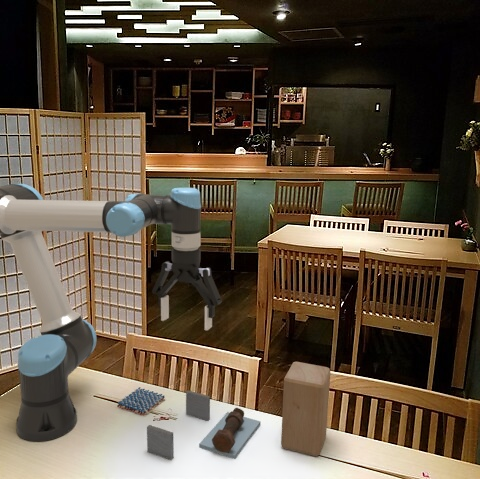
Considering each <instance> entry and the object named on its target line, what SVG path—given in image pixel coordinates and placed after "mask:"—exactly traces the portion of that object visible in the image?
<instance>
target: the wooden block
mask: <svg viewBox="0 0 480 479" xmlns="http://www.w3.org/2000/svg"><path fill="white" fill-rule="evenodd" d="M289 367H290V368H289V370H288V371H287V373H286V375H285V377H284V378H283V396H282V415H281V416H282V419H281V433H280V435H281V437H280V438H281V440H280V445H281V448H283V449H286V450H289V451H293V452H298V453H301V454H305V455H308V456H309V455H310V456H314V457H318V456H320V454H321V451H322V448H323V445H324V442H325V439H326V437H327V428H328V427H327V426H328V413H329V398H330V397H329V396H330V384H331V369H330V368H329V367H327V366H323V365H318V364H317V365H316V364H311V363H307V362H300V361H294V362H292V364H291V366H289Z"/></svg>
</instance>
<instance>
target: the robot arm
mask: <svg viewBox="0 0 480 479" xmlns="http://www.w3.org/2000/svg"><path fill="white" fill-rule="evenodd" d="M201 208H202V204H201V192H200V190H198V188H194V187H175V188H172V189H171V192H170V194H168V195H167V194H166V195H162V194H161V195H160V194H159V195H158V194H147V193H146V194H144V193H141V192H140V193H131V194H129V195H127V197H126V198H125V200H124V201H123V200H121V201H119V200H117V201H116V200H113V201H111V200H106V201H105V200H70V199H69V200H65V199H64V200H63V199H56V200H55V199H44V198H43V197H42V195H41V193H40V192H39V191H38V190H36V188H35V187H33V186H30V185H28V184H26V183H10V184H6V185H0V238H1V240H2V241H4V242H7V243H8V244H10V246H11V249H12V252H13V254H14V256H15V259H16V262H17V263H18V264H17V265H18V266H19V268H20V271H21V273H22V276H23V277H24V278H23V279H24V280H25V282H26V285H27V288H28V290H29V292H30V295H31V298H32V300H33V303H34V305H35V307H36V310H37V312H38V314H39V317H40V320H41V322H42V324H41V327H40V328H39V332H40V335H38V337H33V338H30V339H28V340H27V341H25V342H24V343H23V344H22V345H21V347H20V348H19V350H18V354H17V355H18V356H17V367H18V368H17V369H18V374H19V375H18V376H19V386H20V387H19V388H20V396H21V397H20V398H21V403H20V408H19V412H18V416H17V418H16V422H15V426H16V427H15V428H16V434H17V435H18V436H19V438H21V439H23V440H25V441H29V442H46V441H51V440H54V439H55V440H56V439H57V438H60V437H62V436H64V435H66V434H68V433H69V432H71V431H72V430H73V429H74V428H75V426H76V425H77V422H78V417H77V416H78V412H77V409H76V407H75V406H74V402H73V400H72V398H71V396H70V392H69V379H68V378H69V375H71V373H73V372H74V371H75V370H76V369H77V368H78V367H80V365H81V364H82V363H83V362H85V361H86V360H87V359H88V358H89V357H90V355H91V354H92V353H93V351H94V350H95V348H96V346H97V340H98V339H97V332H96V330H95V328H94V326H93V325H92V324H91V323H90V322H87V320H86V319H83V318H82V315H81V313H80V312H76V311H75V310H73V308H72V306H71V303H70V301H69V297H68V295H67V293H66V291H65V288H64V286H63V283H62V280H61V278H60V275H59V273H58V269H57V267H56V266H55V263H54V260H53V258H52V255H51V253H50V251H49V248H48V245H47V242H46V240H45V238H44V235H43V233H42V232H68V233H69V232H71V233H72V232H73V233H74V232H77V233H108V234H110V233H112V234H114V235H115V236H117V237H120V238H121V237H122V238H124V237H129V236H133V235H136V234H137V233H138V232H140V231H141V230H143V229H145V228H147V227H149V226H150V225H154V224H155V225H170V227H171V246H172V248H171V261H172V263H171V261H169V260H167V261H165V262H163V263H161V271H160V272H159V275H158V277H157V279H156V281H155V284H154V286H153V288H152V290H151V292H152V294H153V295H157V297H158V308H160V321H162V322H164V321H167V319H169V318H170V314H169V313H170V304H169V303H170V302H169V300H170V296H169V295H168V292H169V291H170V290H171V289H172V288H173V286H174V285H175V284H176V283H177V282H180V283H186V284H191V285H192V286H193V287H195V289H196V291H197V292H198V293H199V295H200V296H201V298H202V299H203V301H204V303H205V304H206V305H205V306H204V331H209V330H210V329H211V328H212V327H213V318H214V317H215V316H216V307H217V306H218V305H220V304H221V303H222V302H223V300H222V298H221V297H222V296H221V294H220V293H219V290H218V288H217V286H216V283H215V281H214V278H213V275H212V268H211V267H206V268H202V267H201V266H200V265H201V264H200V263H201V248H200V247H201V244H202V242H201V218H202V217H201V214H202V213H201V211H202V209H201ZM170 271H172V273H173V274H172V275H171V276H170V278H169V280H168V281H167V282H166V280H167V277H168V275H169V273H170ZM200 275H201V276H200ZM165 282H166V283H165ZM164 284H165V285H164Z"/></svg>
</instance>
